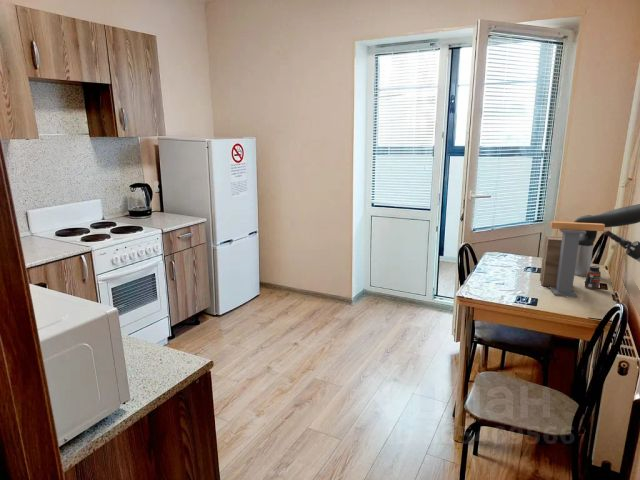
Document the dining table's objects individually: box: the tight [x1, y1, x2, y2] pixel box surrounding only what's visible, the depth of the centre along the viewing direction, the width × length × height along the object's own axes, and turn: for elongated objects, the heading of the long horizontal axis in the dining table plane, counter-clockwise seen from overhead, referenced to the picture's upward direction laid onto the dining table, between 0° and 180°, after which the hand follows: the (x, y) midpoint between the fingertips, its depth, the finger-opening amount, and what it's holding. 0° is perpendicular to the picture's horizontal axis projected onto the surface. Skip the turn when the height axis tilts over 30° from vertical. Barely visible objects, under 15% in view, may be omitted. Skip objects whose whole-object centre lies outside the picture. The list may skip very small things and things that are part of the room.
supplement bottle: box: [584, 265, 602, 290], centre depth 217 cm, size 6×6×11 cm
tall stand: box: [549, 229, 586, 298], centre depth 208 cm, size 10×10×32 cm
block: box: [549, 221, 606, 232], centre depth 203 cm, size 3×22×3 cm, turn 72°
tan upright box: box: [539, 234, 562, 288], centre depth 221 cm, size 10×12×25 cm
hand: (608, 233), depth 200 cm, fingers open, 8 cm apart
